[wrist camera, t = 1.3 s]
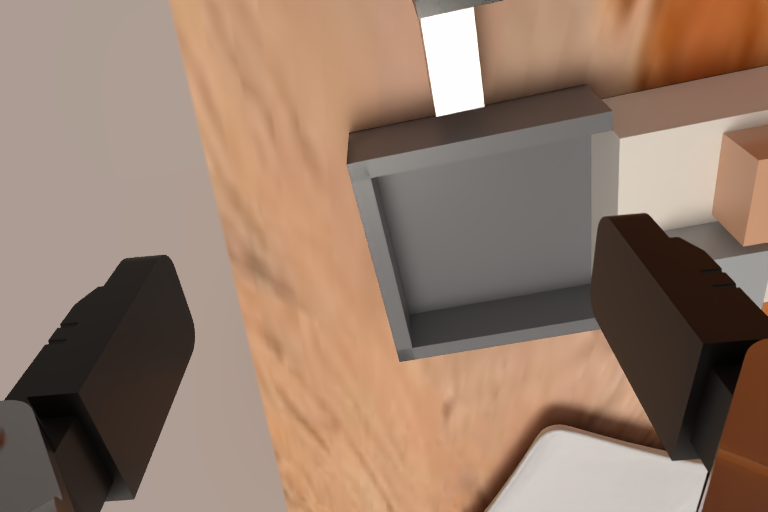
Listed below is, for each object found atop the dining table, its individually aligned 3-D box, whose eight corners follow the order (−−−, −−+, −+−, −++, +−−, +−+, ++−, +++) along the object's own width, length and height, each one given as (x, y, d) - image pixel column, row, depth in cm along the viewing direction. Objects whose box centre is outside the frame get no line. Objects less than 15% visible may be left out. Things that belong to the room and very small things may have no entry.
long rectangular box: (586, 102, 31) (619, 138, 27) (902, 38, 29) (989, 66, 25) (587, 276, 37) (614, 326, 33) (844, 231, 36) (905, 279, 32)
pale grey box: (651, 233, 30) (676, 266, 27) (740, 217, 29) (774, 249, 27) (646, 298, 32) (669, 334, 30) (729, 285, 32) (759, 320, 29)
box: (349, 133, 32) (346, 164, 28) (586, 84, 30) (612, 111, 27) (397, 320, 39) (399, 361, 36) (587, 287, 38) (608, 327, 35)
